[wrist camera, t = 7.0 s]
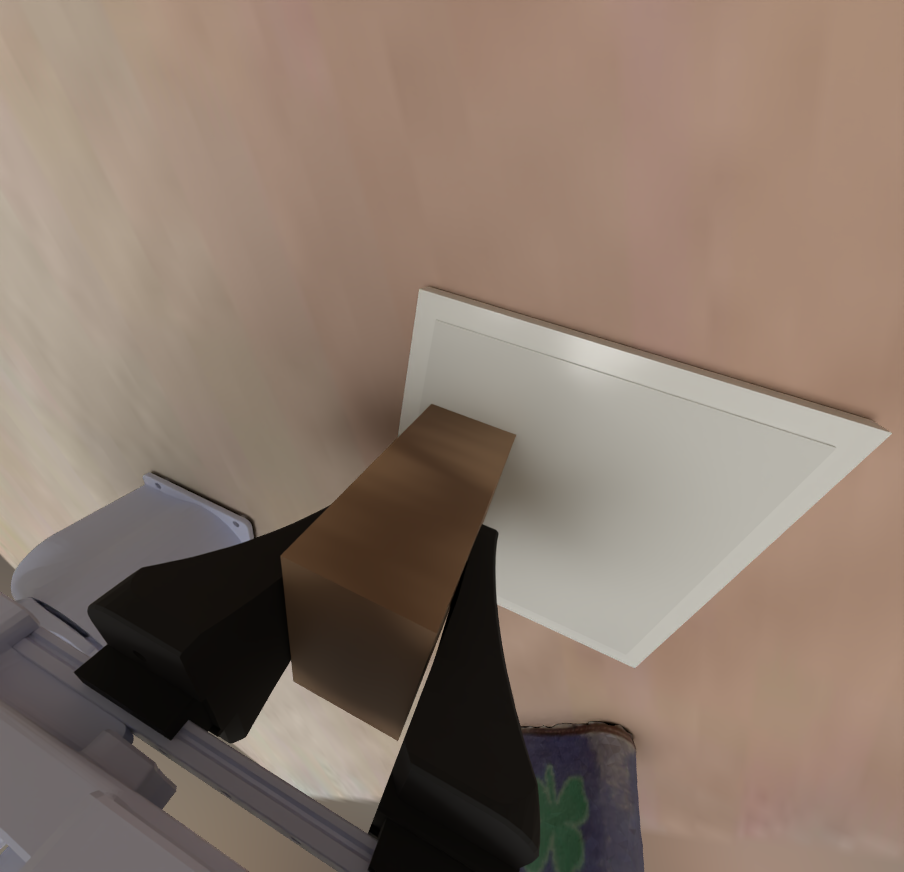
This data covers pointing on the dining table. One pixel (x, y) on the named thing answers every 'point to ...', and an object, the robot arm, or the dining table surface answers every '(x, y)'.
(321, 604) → the walnut block
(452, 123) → the dining table surface
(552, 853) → the flask
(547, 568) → the stone board
